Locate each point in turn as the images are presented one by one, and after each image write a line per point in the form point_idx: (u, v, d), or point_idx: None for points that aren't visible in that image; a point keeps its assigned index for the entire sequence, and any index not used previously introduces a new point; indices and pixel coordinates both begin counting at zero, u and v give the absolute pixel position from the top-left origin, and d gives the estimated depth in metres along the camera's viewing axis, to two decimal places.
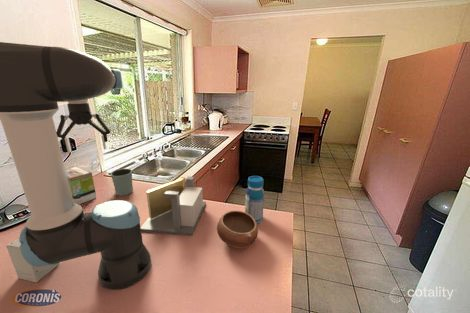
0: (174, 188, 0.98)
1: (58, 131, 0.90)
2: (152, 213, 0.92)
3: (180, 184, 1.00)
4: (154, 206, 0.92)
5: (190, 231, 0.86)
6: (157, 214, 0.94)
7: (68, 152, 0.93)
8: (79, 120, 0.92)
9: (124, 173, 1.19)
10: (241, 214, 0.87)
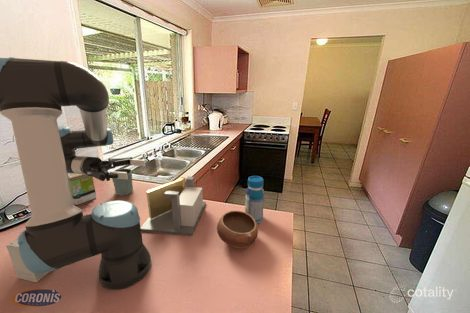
0: (174, 188, 0.98)
1: (99, 173, 0.80)
2: (152, 213, 0.92)
3: (180, 184, 1.00)
4: (154, 206, 0.92)
5: (190, 231, 0.86)
6: (157, 214, 0.94)
7: (125, 172, 0.80)
8: (103, 164, 0.88)
9: None
10: (241, 214, 0.87)
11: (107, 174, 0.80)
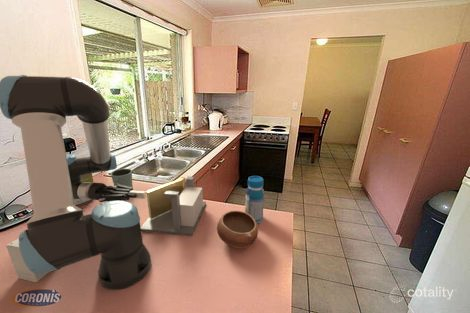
0: (174, 188, 0.98)
1: (118, 195, 0.89)
2: (152, 213, 0.92)
3: (180, 184, 1.00)
4: (154, 206, 0.92)
5: (190, 231, 0.86)
6: (157, 214, 0.94)
7: (143, 193, 0.91)
8: None
9: (124, 173, 1.19)
10: (241, 214, 0.87)
11: (128, 194, 0.91)
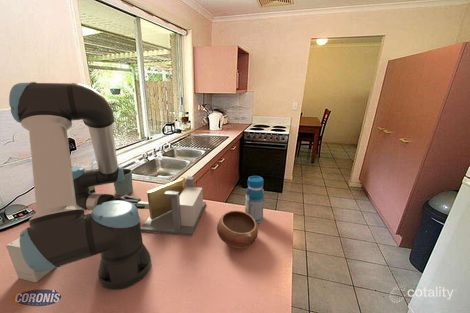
0: (174, 188, 0.98)
1: None
2: (153, 214, 0.91)
3: (180, 184, 1.00)
4: (155, 206, 0.91)
5: (190, 231, 0.86)
6: (158, 214, 0.93)
7: None
8: None
9: (124, 173, 1.19)
10: (241, 214, 0.87)
11: (136, 205, 0.92)
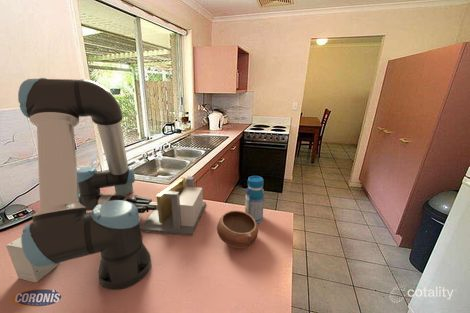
0: (177, 189, 0.97)
1: (138, 207, 0.89)
2: (163, 217, 0.89)
3: (182, 184, 1.00)
4: (164, 210, 0.89)
5: (190, 231, 0.86)
6: (166, 217, 0.91)
7: None
8: None
9: None
10: (241, 214, 0.87)
11: (148, 206, 0.91)
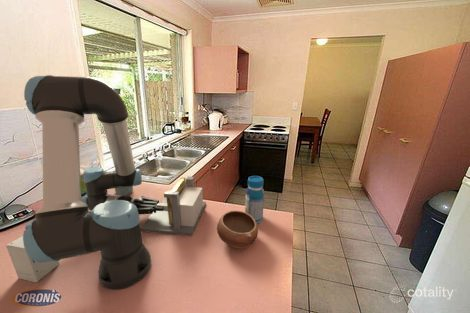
0: (181, 189, 0.97)
1: (145, 208, 0.89)
2: None
3: (183, 184, 1.00)
4: None
5: (190, 231, 0.86)
6: None
7: None
8: None
9: None
10: (241, 214, 0.87)
11: (155, 207, 0.90)
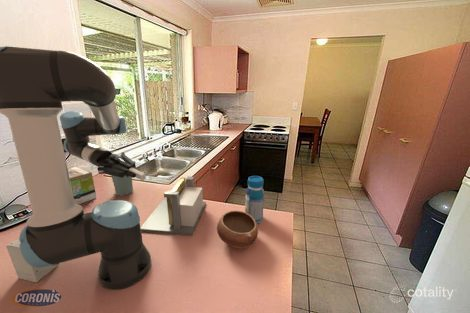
0: (181, 189, 0.97)
1: (116, 171, 0.81)
2: None
3: (183, 184, 1.00)
4: None
5: (190, 231, 0.86)
6: None
7: (142, 175, 0.81)
8: (110, 161, 0.85)
9: None
10: (241, 214, 0.87)
11: (127, 171, 0.82)
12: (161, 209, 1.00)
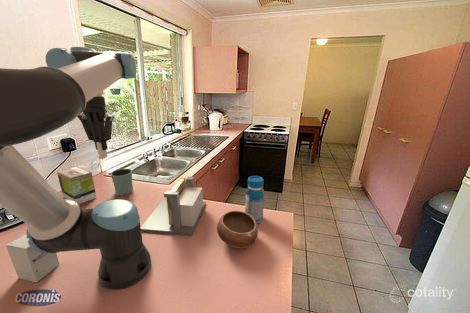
0: (181, 189, 0.97)
1: (87, 133, 0.80)
2: None
3: (183, 184, 1.00)
4: None
5: (190, 231, 0.86)
6: None
7: (99, 158, 0.83)
8: (92, 116, 0.78)
9: (124, 173, 1.19)
10: (241, 214, 0.87)
11: (95, 142, 0.81)
12: (161, 209, 1.00)
